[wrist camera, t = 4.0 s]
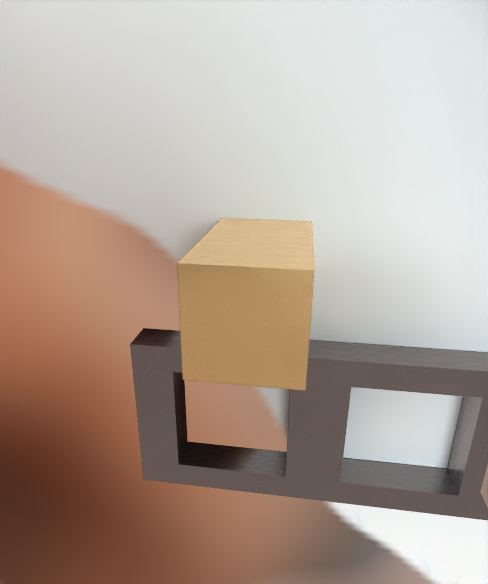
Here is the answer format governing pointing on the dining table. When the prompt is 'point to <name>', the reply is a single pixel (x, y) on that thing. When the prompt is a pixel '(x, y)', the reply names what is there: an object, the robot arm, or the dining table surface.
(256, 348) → the maple wood beam
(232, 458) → the rail
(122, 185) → the dining table surface
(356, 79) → the dining table surface
